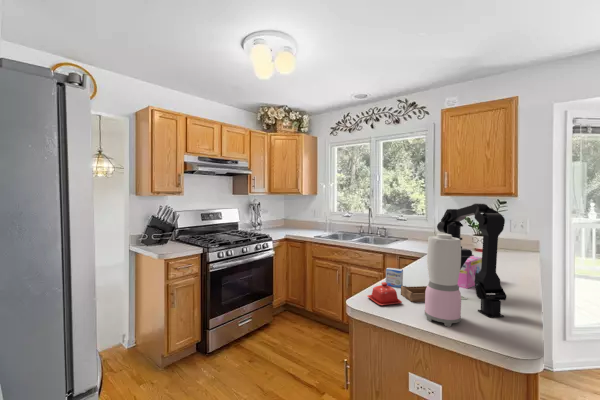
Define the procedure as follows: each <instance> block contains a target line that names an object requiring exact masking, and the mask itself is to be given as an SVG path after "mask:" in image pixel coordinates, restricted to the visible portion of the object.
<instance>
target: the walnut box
mask: <svg viewBox="0 0 600 400" xmlns="http://www.w3.org/2000/svg"><path fill="white" fill-rule="evenodd" d="M427 286H428V285H427ZM427 286H425V285H419V286H401V288H400V296H402V297H403V298H405V299H406V300H408V301H409V302H410V303H425V291H426V288H427Z"/></svg>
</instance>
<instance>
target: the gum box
mask: <svg viewBox="0 0 600 400" xmlns="http://www.w3.org/2000/svg"><path fill="white" fill-rule="evenodd" d="M481 265H482V256H481V257H480V256H478V255H477V256H476V255H474V254H472V256H470V258H468V259H467V260H466V262H465V263H464V265H463V267H462V268H461V270H460V273H459V278H458V283H457V285H459V288H463V289H470V288H472V287H475V283H474V281H475V274H476V273H479V272H480V271H481Z"/></svg>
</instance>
